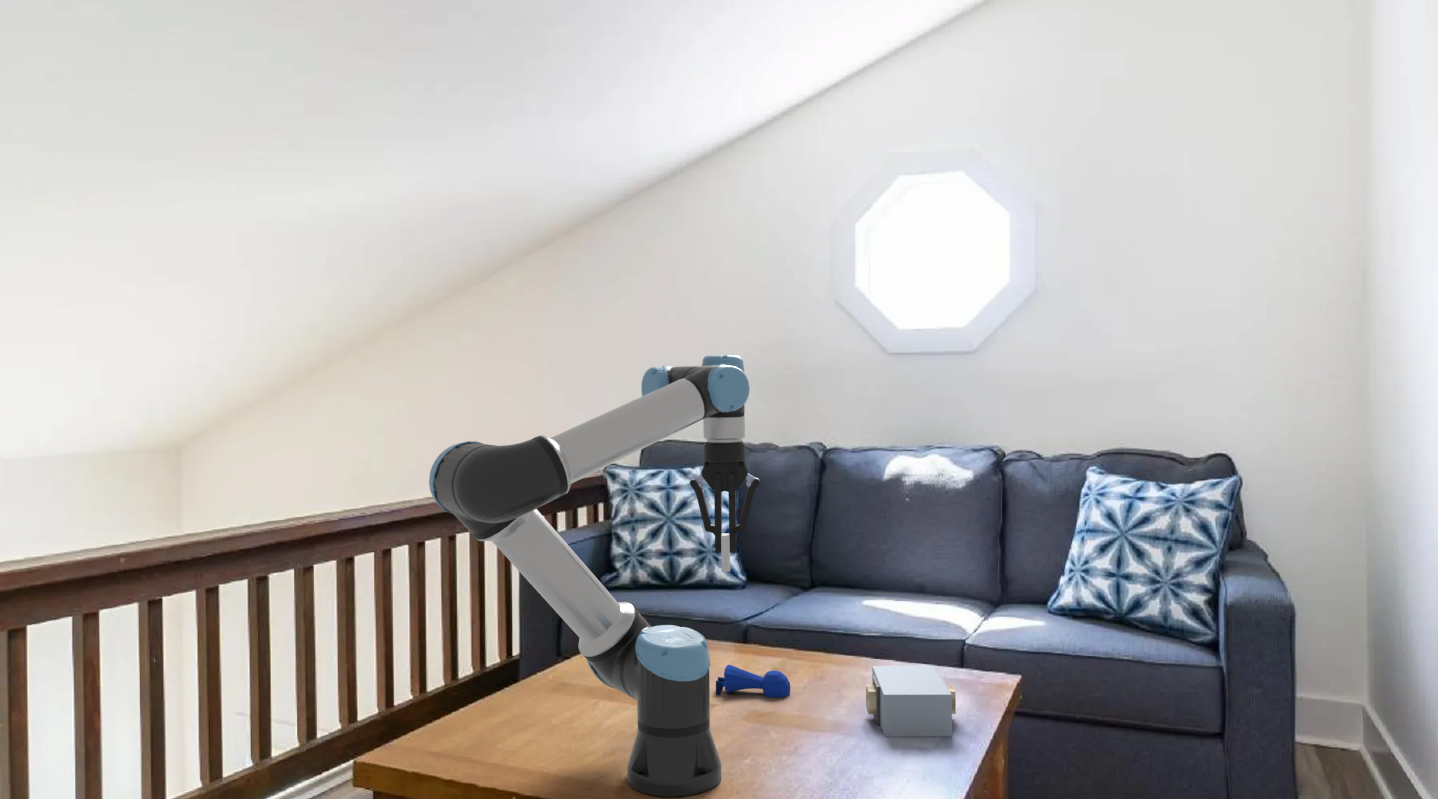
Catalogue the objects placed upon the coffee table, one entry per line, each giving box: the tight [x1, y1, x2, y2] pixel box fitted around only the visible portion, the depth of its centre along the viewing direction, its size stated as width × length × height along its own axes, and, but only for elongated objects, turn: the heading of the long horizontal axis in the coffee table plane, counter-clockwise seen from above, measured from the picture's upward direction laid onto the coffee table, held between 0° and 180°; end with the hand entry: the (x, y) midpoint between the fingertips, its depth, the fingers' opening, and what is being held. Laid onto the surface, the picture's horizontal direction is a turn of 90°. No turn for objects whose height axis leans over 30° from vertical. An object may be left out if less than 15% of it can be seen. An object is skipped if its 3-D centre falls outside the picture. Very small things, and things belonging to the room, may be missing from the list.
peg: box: [865, 684, 957, 715], centre depth 189 cm, size 4×16×4 cm, turn 88°
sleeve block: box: [871, 665, 953, 737], centre depth 189 cm, size 18×13×8 cm
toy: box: [715, 664, 791, 699], centre depth 206 cm, size 7×6×15 cm
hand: (725, 570), depth 184 cm, fingers closed
